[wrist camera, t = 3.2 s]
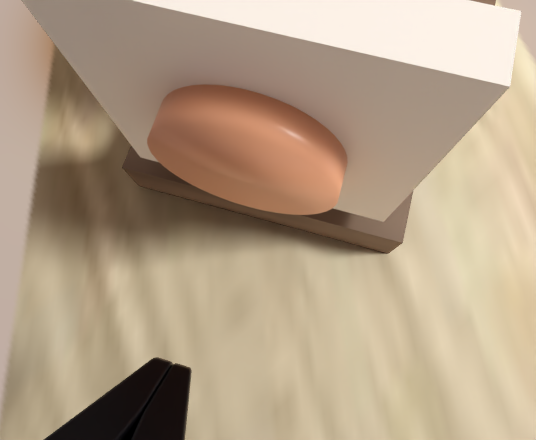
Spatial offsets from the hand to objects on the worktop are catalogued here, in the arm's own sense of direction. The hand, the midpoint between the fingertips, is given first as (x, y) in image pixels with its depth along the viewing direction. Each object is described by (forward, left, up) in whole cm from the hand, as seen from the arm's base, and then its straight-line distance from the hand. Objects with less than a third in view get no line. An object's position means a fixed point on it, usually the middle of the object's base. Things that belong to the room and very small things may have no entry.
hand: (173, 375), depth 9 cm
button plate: (+6, +2, -4) cm, 8 cm away
